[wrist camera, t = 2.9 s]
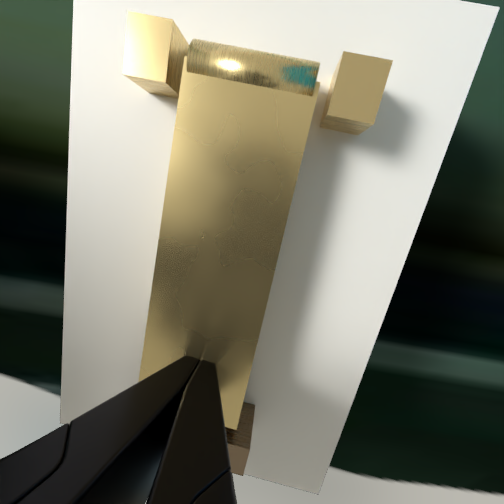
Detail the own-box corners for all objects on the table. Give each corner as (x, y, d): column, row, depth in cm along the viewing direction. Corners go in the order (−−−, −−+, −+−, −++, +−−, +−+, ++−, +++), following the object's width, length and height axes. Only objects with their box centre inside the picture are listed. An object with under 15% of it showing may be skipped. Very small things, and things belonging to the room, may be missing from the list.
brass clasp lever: (200, 52, 7) (186, 27, 6) (320, 75, 6) (327, 53, 5) (149, 381, 9) (133, 405, 8) (240, 405, 8) (235, 432, 7)
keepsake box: (162, 40, 11) (5, -155, 5) (404, 86, 11) (587, -64, 4) (129, 348, 15) (17, 466, 9) (307, 394, 14) (327, 556, 8)
